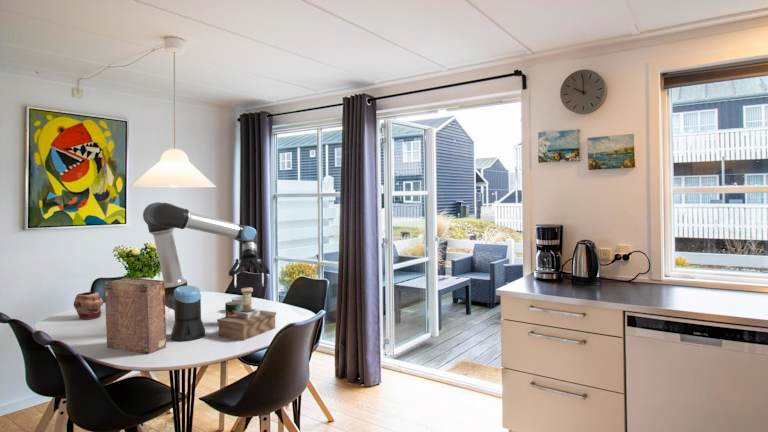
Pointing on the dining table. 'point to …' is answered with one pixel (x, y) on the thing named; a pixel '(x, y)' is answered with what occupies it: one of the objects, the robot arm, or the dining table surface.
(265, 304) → the dining table surface
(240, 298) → the teacup
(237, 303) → the canned tomato
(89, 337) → the dining table surface
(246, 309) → the beech peg
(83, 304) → the decorative planter
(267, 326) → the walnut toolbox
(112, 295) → the brown upright block
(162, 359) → the dining table surface
